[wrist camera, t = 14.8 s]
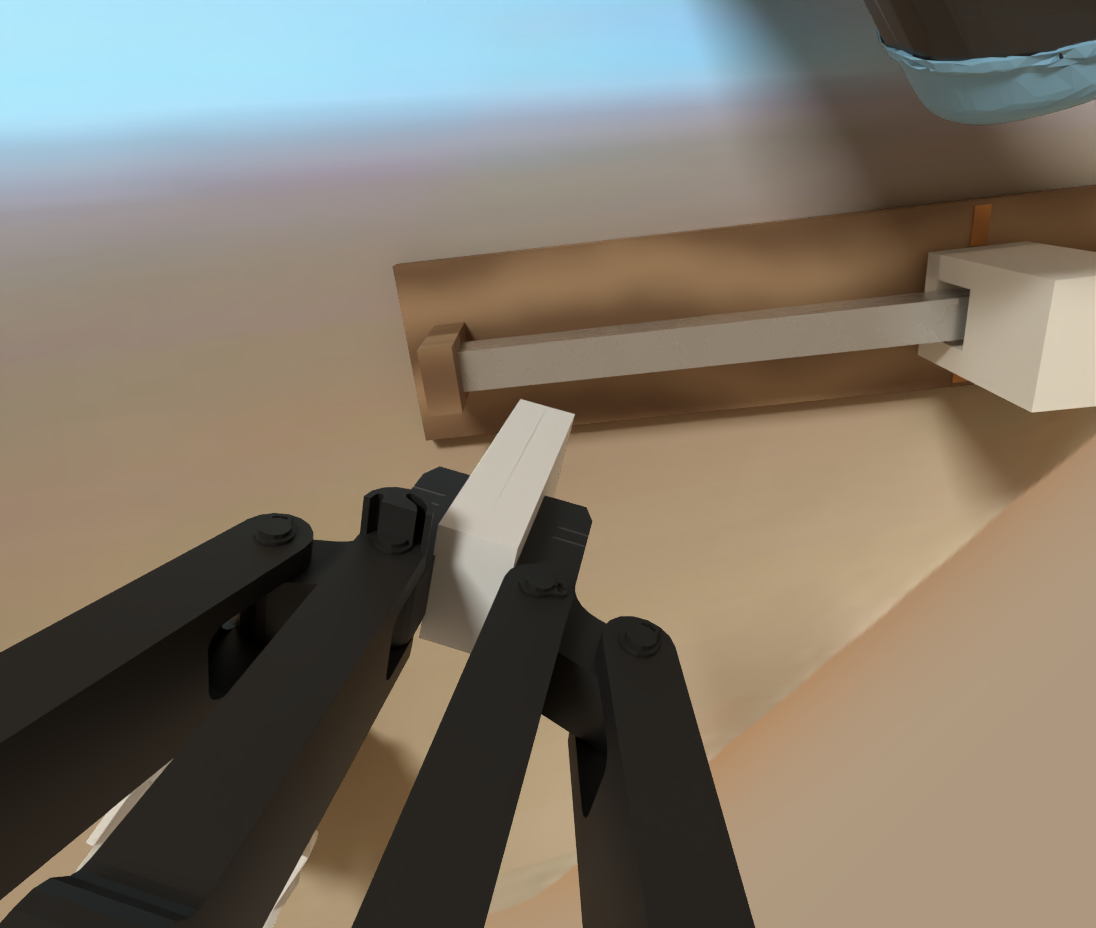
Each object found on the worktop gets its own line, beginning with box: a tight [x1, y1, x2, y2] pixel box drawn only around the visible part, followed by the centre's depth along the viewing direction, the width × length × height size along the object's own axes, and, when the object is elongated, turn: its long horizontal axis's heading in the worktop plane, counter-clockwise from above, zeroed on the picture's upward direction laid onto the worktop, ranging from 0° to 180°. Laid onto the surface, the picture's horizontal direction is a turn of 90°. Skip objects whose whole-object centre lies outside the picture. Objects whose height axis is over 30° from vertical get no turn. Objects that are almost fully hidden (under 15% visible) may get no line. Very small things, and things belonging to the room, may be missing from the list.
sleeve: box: [918, 241, 1096, 413], centre depth 39 cm, size 7×6×12 cm
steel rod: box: [457, 288, 971, 392], centre depth 42 cm, size 3×42×3 cm, turn 96°
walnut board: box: [393, 185, 1096, 440], centre depth 43 cm, size 12×46×8 cm, turn 96°
